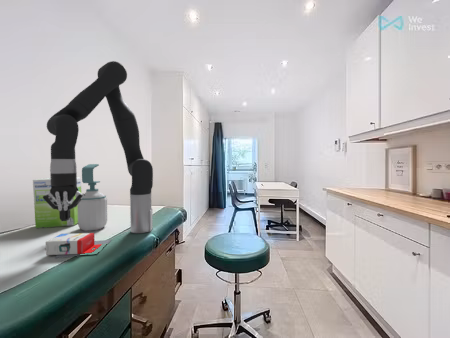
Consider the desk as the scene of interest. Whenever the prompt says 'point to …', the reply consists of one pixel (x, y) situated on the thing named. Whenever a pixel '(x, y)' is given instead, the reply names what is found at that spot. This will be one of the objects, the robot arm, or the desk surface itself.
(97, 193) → the soap bottle
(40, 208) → the toothbrush box
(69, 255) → the mat
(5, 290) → the desk surface
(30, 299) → the desk surface
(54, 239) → the ink box
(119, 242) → the desk surface
